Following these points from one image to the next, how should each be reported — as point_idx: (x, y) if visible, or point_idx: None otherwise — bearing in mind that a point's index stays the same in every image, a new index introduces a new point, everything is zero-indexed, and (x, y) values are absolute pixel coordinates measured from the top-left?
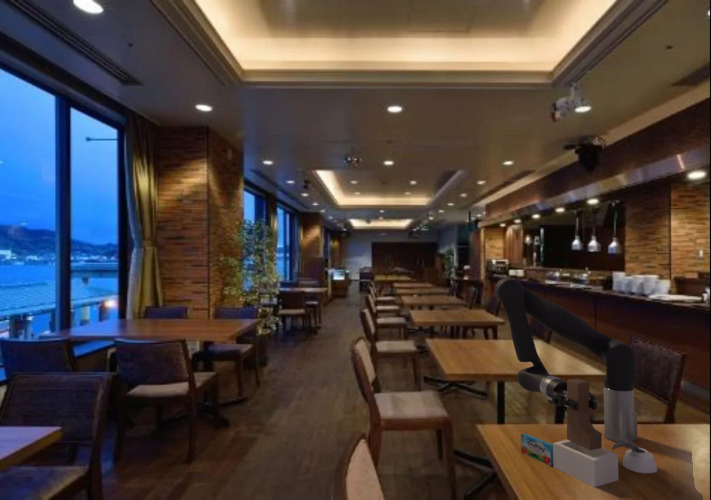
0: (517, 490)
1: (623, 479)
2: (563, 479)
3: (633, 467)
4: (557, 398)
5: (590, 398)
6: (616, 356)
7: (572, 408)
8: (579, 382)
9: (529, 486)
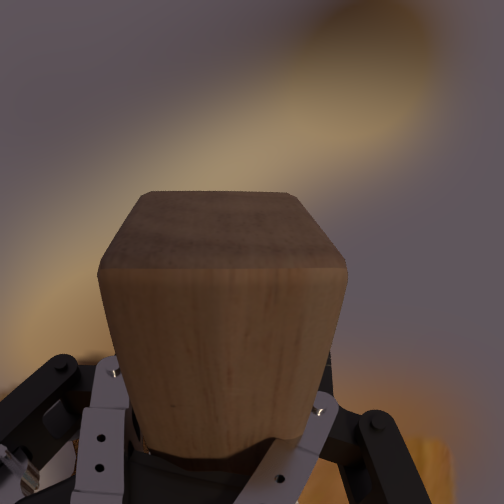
0: (448, 450)
1: (144, 441)
2: (314, 492)
3: (70, 448)
4: (400, 442)
5: (83, 381)
6: None
7: None
8: (270, 192)
9: (419, 466)
